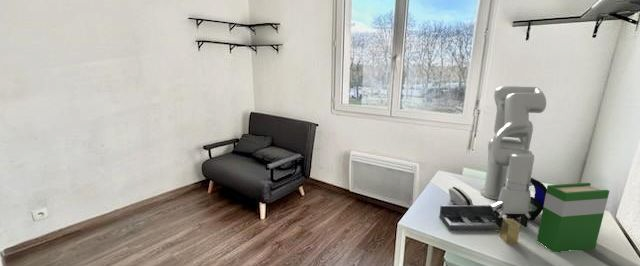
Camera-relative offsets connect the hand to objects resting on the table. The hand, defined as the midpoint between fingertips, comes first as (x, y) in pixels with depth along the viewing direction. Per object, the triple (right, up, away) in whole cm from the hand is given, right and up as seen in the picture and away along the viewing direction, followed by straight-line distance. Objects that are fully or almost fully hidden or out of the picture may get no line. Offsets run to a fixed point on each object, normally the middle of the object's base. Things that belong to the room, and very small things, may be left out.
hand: (510, 225), depth 112 cm
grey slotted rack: (-7, -4, +13) cm, 15 cm away
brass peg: (0, -6, +2) cm, 7 cm away
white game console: (-5, 0, +29) cm, 30 cm away
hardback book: (+20, -7, -2) cm, 21 cm away
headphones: (+16, -3, +17) cm, 23 cm away
